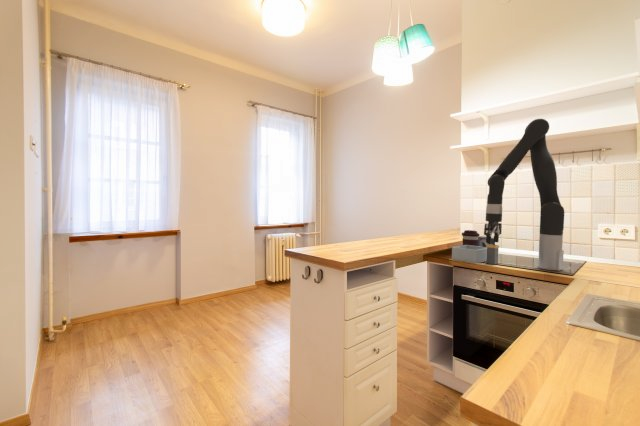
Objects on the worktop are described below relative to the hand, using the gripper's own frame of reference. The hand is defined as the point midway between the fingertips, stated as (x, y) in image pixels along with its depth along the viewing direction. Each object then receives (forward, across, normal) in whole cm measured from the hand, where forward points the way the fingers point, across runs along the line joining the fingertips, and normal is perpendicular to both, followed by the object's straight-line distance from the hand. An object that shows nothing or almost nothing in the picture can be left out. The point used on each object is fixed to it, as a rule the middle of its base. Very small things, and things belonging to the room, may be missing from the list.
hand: (492, 242), depth 161 cm
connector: (+11, 0, -1) cm, 11 cm away
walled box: (+11, +1, +11) cm, 16 cm away
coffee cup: (+12, +17, +20) cm, 29 cm away
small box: (+12, +29, +18) cm, 36 cm away
